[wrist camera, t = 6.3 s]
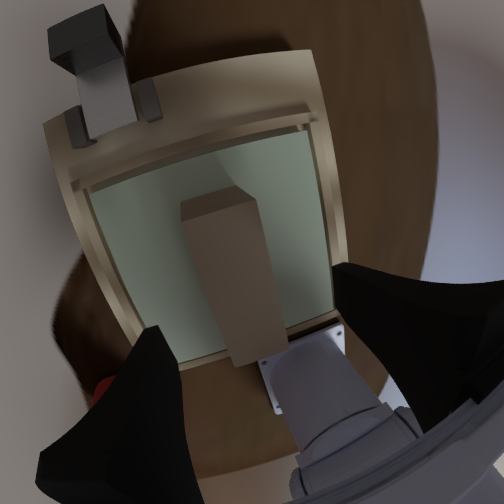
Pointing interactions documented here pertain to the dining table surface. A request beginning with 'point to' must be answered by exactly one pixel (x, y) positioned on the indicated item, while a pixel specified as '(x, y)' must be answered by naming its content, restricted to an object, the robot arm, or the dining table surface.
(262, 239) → the cover
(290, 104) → the picture frame
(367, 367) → the dining table surface
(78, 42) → the latch bolt
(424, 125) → the dining table surface
